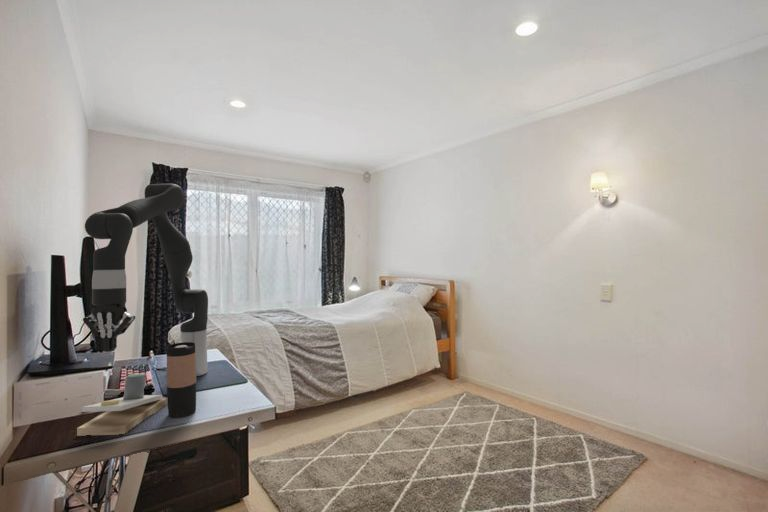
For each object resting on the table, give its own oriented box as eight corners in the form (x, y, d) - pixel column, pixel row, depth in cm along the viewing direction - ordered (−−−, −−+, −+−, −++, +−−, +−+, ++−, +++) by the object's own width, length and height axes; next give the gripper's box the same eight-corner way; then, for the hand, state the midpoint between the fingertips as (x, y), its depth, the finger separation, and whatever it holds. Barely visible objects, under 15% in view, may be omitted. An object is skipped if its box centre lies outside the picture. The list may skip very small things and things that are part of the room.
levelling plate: (128, 399, 117) (131, 372, 118) (161, 398, 117) (164, 372, 119) (82, 411, 98) (86, 379, 100) (121, 410, 98) (124, 378, 100)
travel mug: (169, 410, 113) (168, 343, 113) (198, 406, 116) (196, 341, 116) (165, 420, 106) (163, 349, 106) (195, 415, 109) (194, 346, 109)
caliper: (89, 410, 115) (88, 389, 115) (87, 409, 116) (86, 389, 116) (154, 388, 134) (154, 370, 134) (152, 388, 134) (152, 370, 134)
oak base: (127, 405, 118) (127, 398, 118) (166, 404, 118) (166, 397, 118) (77, 435, 98) (77, 428, 98) (124, 434, 98) (124, 426, 98)
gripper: (142, 285, 106) (142, 347, 106) (94, 286, 106) (94, 348, 105) (125, 287, 99) (125, 354, 98) (73, 288, 98) (73, 355, 98)
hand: (109, 351), depth 102 cm, fingers closed
